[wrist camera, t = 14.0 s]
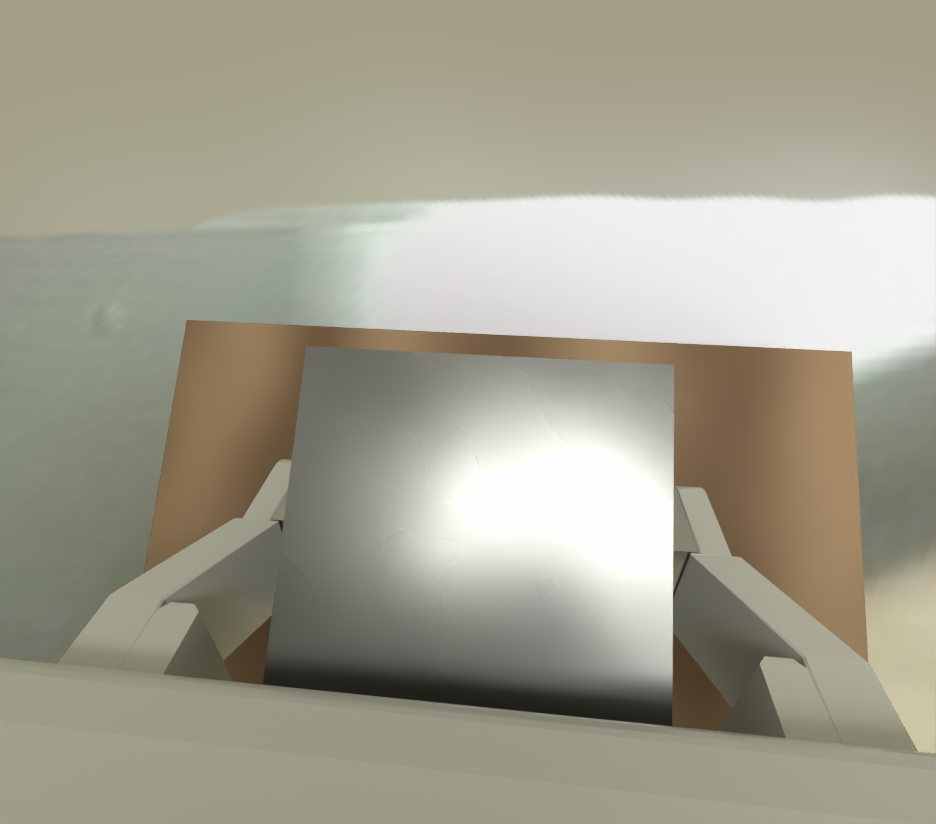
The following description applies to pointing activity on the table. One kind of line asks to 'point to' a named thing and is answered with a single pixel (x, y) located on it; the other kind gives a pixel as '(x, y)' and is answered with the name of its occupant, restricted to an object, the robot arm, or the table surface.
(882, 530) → the table surface
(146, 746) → the robot arm
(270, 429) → the walnut stand
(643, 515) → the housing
